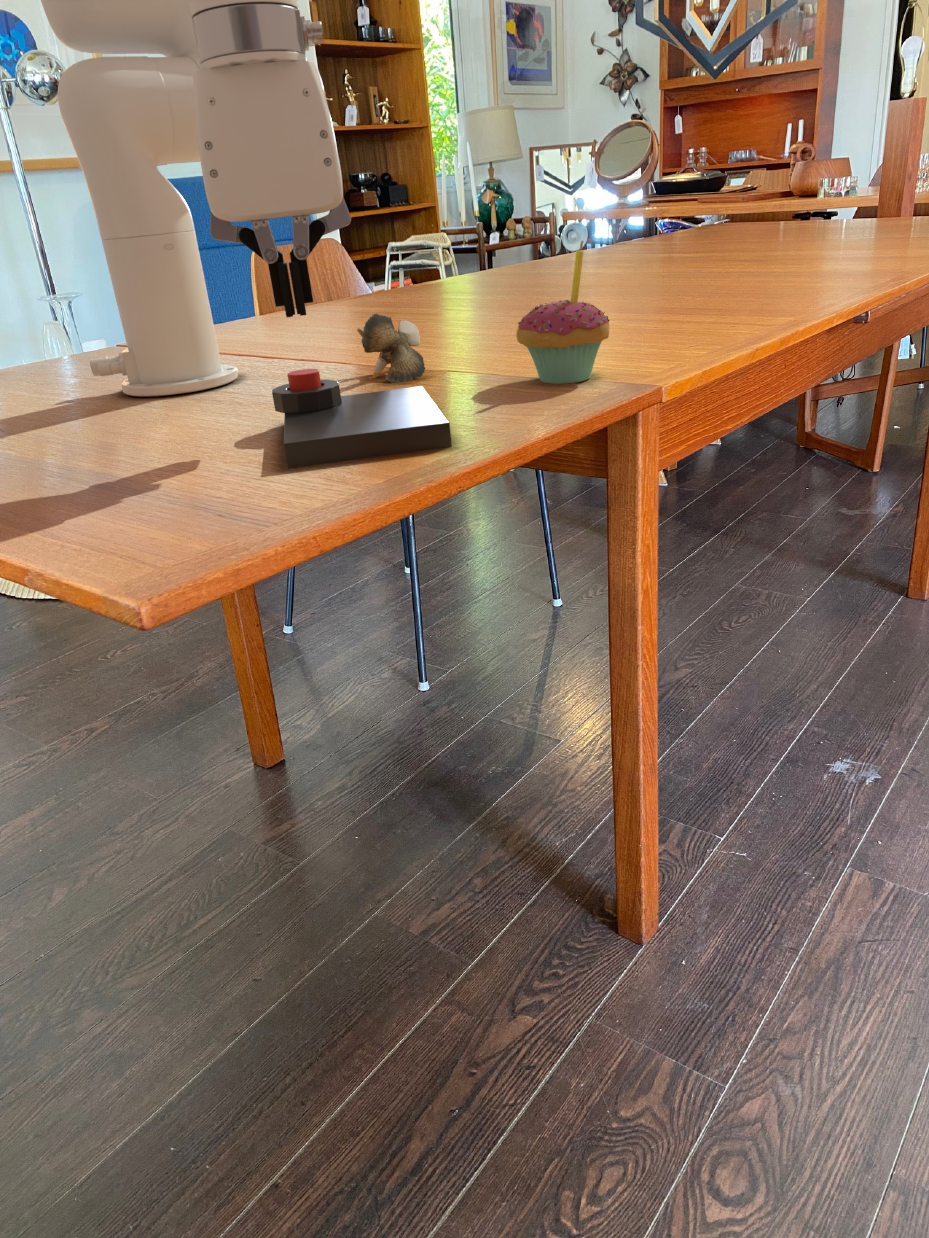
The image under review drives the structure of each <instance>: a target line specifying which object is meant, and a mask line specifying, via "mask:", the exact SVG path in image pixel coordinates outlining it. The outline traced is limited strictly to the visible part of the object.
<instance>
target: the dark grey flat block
mask: <svg viewBox="0 0 929 1238" xmlns="http://www.w3.org/2000/svg"><path fill="white" fill-rule="evenodd" d="M320 380H321V387H319V388H315V389H310V390H302V391H290V387H289V383H286V384H282V385H279V386H276V387H274V388H272V391H271V395H272V399H273V405H274V411H275V412H277V413H282V414H284V419H283V420H284V421H283V422H284V425H283V449H284V454H285V460H286V467H287V469H296V468H303V467H310V466H312V467H313V466H318V465H319V466H320V465H326V464H336V463H341V462H348V461H356V460H364V459H371V458H380V457H386V456H387V457H388V456H394V455H402V454H409V453H417V452H424V451H431V450H432V451H433V450H439V449H448V448H452V447H453V444H452V433H451V423H450V421H449V420H448V419H447V418H446V416H445V415H444V413H443V412H442V411H441V409H440V408H439V407H438V405H437V404H436V402H435V401H434V400H433V398H432V397H431V396H430V394H429V393H428V391H427V390H426V389H425V387H424V386H423V385H419V386H411V387H405V388H395V389H387V390H381V391H379V390H378V391H371V392H363V393H362V392H361V393H356V394H348V395H341V389H340V383H339V380H333V379H320Z"/></svg>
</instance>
